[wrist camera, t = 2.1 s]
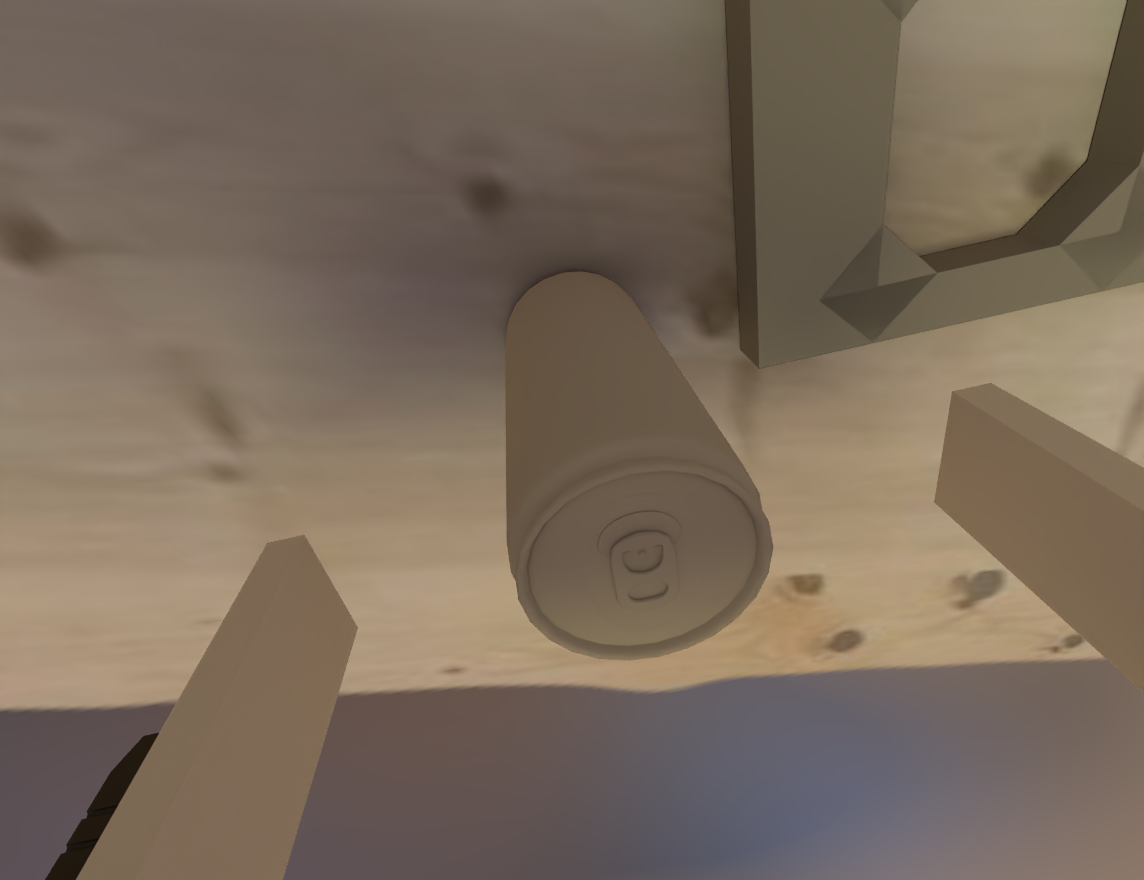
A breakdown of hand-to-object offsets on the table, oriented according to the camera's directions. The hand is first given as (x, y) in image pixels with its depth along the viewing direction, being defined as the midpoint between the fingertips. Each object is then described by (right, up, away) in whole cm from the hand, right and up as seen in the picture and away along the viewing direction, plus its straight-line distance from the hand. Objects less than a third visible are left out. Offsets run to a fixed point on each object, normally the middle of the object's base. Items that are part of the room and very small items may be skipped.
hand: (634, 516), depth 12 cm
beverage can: (-1, +5, +9) cm, 10 cm away
